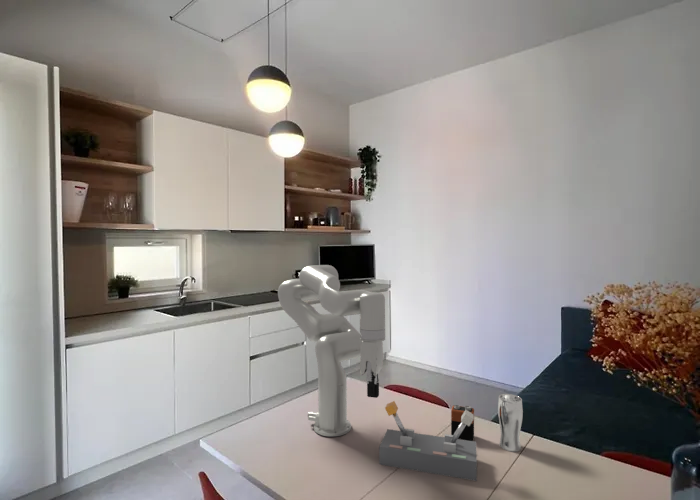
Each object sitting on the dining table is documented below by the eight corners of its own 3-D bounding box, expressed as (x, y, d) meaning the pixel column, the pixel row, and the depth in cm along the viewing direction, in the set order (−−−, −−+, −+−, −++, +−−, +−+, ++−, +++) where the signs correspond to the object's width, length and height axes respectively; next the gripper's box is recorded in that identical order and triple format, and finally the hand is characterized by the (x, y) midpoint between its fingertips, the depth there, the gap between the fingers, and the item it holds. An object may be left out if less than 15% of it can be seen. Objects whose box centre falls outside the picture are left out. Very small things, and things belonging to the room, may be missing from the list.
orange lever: (402, 443, 111) (384, 408, 113) (404, 437, 114) (387, 403, 116) (410, 440, 111) (392, 405, 112) (411, 434, 114) (394, 400, 115)
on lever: (445, 445, 108) (465, 414, 106) (446, 439, 111) (465, 409, 109) (453, 450, 107) (473, 419, 105) (454, 445, 110) (473, 414, 108)
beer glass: (521, 443, 121) (521, 395, 121) (523, 454, 115) (523, 403, 115) (497, 439, 124) (497, 392, 123) (498, 450, 117) (498, 400, 117)
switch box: (379, 464, 109) (379, 438, 109) (387, 445, 120) (387, 421, 120) (476, 480, 102) (476, 453, 102) (476, 459, 112) (476, 434, 112)
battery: (473, 442, 122) (473, 410, 122) (451, 438, 124) (451, 407, 124) (474, 435, 126) (474, 405, 126) (452, 432, 128) (452, 402, 128)
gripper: (366, 328, 124) (367, 386, 123) (353, 339, 109) (353, 404, 109) (390, 330, 121) (390, 389, 121) (379, 340, 107) (379, 407, 107)
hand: (373, 396), depth 115 cm, fingers closed
